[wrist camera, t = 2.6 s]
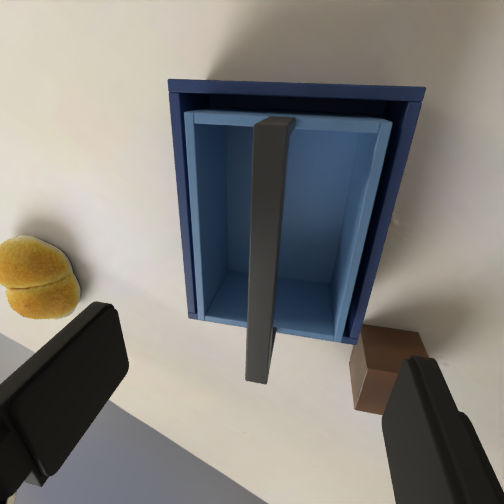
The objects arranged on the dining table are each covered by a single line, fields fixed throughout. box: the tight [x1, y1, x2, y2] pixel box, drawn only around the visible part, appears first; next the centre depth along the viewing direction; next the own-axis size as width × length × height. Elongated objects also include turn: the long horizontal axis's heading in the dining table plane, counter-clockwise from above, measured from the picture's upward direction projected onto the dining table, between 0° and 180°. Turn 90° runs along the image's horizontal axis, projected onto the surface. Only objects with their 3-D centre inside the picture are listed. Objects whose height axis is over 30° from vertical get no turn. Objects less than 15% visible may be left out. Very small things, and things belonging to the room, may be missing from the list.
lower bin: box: [168, 79, 426, 345], centre depth 21 cm, size 16×12×6 cm
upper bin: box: [184, 107, 393, 384], centre depth 18 cm, size 13×10×11 cm
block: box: [349, 325, 428, 415], centre depth 25 cm, size 5×5×5 cm
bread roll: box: [0, 235, 80, 319], centre depth 30 cm, size 8×9×4 cm
